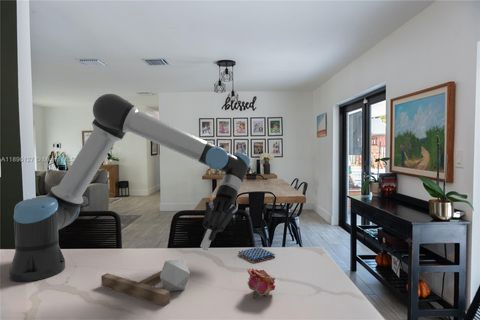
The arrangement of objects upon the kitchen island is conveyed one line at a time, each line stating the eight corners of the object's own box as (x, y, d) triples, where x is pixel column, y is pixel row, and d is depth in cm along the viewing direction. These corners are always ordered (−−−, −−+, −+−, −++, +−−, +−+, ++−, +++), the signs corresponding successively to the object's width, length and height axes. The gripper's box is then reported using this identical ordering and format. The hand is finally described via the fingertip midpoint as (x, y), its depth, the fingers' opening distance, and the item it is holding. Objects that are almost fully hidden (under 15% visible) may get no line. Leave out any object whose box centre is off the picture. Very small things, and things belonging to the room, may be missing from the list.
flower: (262, 303, 75) (274, 274, 78) (234, 287, 80) (246, 261, 82) (272, 308, 82) (282, 281, 85) (245, 294, 87) (256, 269, 90)
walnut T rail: (101, 285, 89) (101, 275, 89) (143, 266, 103) (143, 258, 103) (164, 306, 77) (164, 294, 77) (201, 281, 91) (201, 271, 91)
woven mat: (258, 250, 120) (258, 245, 120) (276, 258, 111) (276, 253, 111) (236, 256, 114) (236, 250, 114) (253, 265, 105) (253, 259, 105)
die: (180, 300, 82) (197, 265, 85) (151, 285, 81) (170, 251, 85) (178, 297, 89) (194, 266, 93) (152, 284, 88) (169, 252, 92)
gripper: (247, 196, 114) (224, 256, 102) (218, 192, 121) (193, 249, 109) (240, 185, 109) (215, 247, 97) (210, 182, 115) (183, 240, 103)
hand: (203, 248), depth 103 cm, fingers closed
